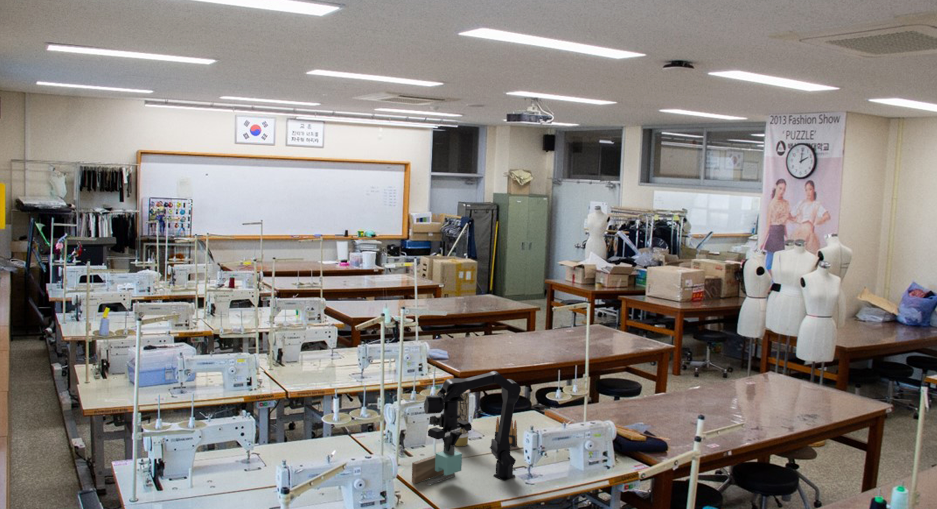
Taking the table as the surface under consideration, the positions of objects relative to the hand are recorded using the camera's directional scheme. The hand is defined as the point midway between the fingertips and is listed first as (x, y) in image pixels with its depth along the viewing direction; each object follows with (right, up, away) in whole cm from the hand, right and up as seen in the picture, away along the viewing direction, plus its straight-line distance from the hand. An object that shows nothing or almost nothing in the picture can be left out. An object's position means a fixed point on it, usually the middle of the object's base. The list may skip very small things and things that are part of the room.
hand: (449, 450), depth 311 cm
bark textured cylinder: (+4, -8, +45) cm, 46 cm away
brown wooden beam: (-5, -12, +6) cm, 15 cm away
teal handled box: (0, -8, +1) cm, 8 cm away
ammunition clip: (+24, -9, +47) cm, 54 cm away
